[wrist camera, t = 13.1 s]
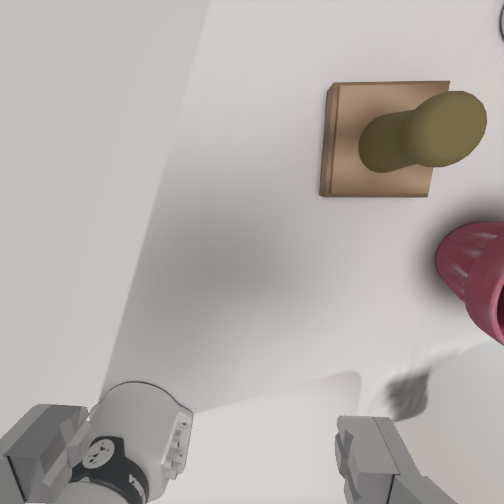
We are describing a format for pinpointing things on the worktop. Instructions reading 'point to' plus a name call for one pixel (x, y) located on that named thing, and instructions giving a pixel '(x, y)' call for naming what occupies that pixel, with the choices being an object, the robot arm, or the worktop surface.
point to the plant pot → (477, 272)
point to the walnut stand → (351, 127)
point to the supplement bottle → (502, 22)
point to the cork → (424, 133)
